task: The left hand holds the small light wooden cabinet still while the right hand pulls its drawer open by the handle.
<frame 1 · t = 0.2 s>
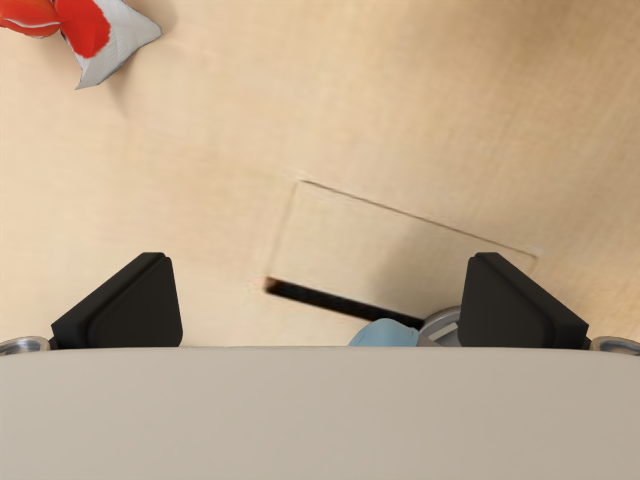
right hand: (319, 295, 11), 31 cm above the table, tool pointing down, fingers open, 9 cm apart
fish: (93, 23, 35), on the table
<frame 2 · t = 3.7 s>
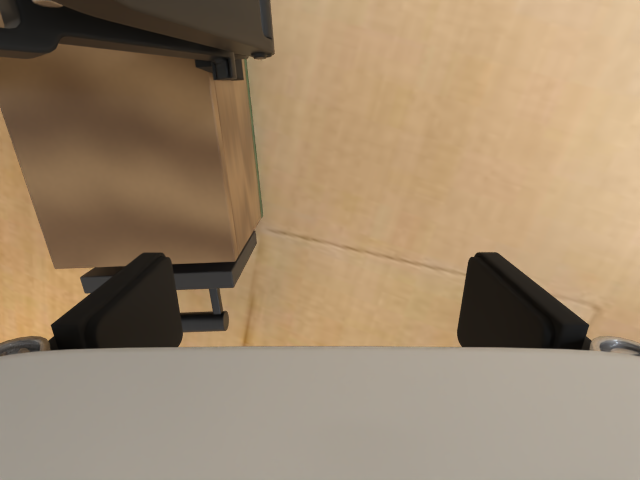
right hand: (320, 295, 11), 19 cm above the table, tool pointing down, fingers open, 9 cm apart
drawer: (172, 211, 25), point 5 cm above the table, slide at 1.0 cm
cabinet: (184, 129, 28), on the table, touching left hand
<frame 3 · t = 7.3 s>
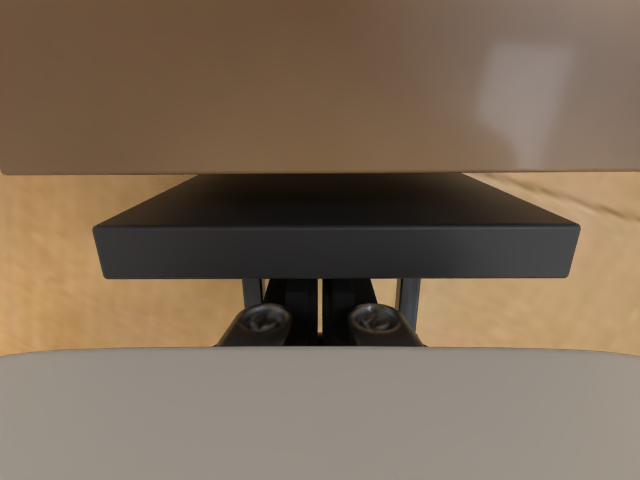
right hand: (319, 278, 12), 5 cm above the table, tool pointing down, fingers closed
drawer: (330, 78, 10), point 5 cm above the table, slide at 1.2 cm, touching right hand
when the left hand's fingers open (5 cm above the table, at t = 10.4 s): cabinet stays where it is, on the table.
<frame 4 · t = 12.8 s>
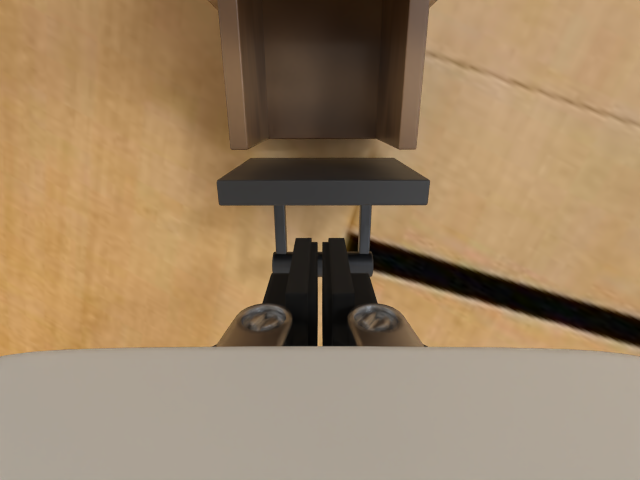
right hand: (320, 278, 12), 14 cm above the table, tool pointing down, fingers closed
drawer: (322, 110, 19), point 5 cm above the table, slide at 7.8 cm
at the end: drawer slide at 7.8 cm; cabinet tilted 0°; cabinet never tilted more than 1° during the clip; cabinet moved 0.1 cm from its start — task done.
